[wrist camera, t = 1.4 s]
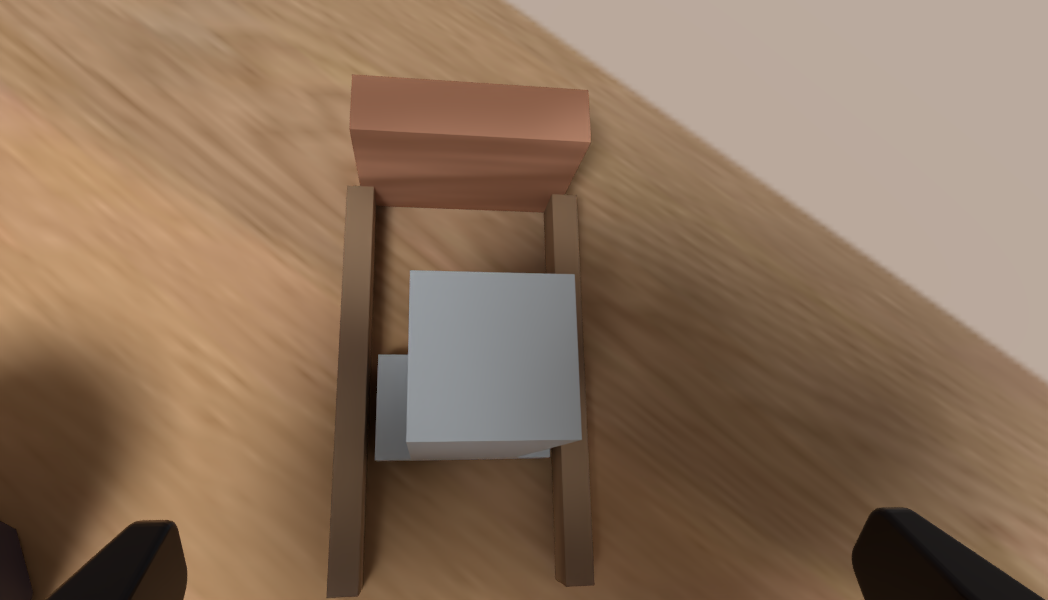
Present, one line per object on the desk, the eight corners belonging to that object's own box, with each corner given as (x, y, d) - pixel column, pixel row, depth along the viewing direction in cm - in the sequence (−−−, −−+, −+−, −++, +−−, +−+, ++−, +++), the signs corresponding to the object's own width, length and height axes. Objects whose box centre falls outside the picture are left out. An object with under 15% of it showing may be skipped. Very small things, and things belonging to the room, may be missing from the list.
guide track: (581, 577, 20) (632, 607, 15) (333, 589, 19) (304, 624, 14) (565, 170, 24) (602, 91, 19) (353, 160, 23) (336, 73, 18)
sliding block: (543, 458, 21) (637, 438, 12) (376, 461, 20) (343, 442, 11) (541, 361, 21) (626, 275, 13) (380, 360, 21) (352, 269, 12)
